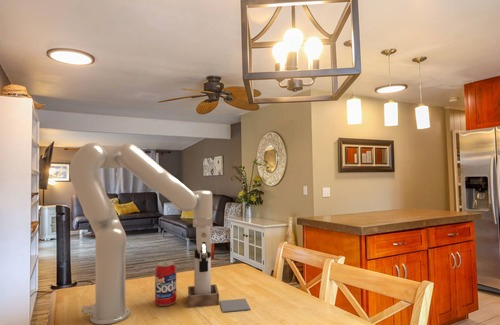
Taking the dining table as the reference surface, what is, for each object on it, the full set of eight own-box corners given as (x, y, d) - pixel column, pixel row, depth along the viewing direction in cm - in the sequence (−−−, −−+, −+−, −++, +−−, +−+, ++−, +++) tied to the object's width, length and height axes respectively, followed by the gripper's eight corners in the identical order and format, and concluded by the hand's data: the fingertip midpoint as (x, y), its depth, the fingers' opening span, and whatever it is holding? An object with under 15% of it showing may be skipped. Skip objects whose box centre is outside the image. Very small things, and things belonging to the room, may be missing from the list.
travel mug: (210, 303, 123) (210, 250, 124) (193, 303, 123) (192, 250, 124) (212, 297, 129) (212, 246, 130) (196, 297, 130) (195, 246, 130)
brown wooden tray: (188, 307, 120) (188, 296, 120) (188, 296, 131) (188, 286, 131) (219, 304, 122) (219, 293, 122) (216, 294, 133) (216, 284, 133)
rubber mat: (222, 312, 115) (222, 311, 115) (219, 302, 125) (219, 300, 125) (250, 310, 117) (250, 308, 117) (245, 299, 127) (245, 298, 127)
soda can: (172, 297, 129) (172, 259, 130) (179, 304, 123) (179, 263, 124) (152, 302, 125) (152, 262, 126) (158, 309, 119) (158, 267, 119)
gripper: (214, 225, 120) (214, 275, 119) (210, 219, 137) (210, 262, 136) (193, 226, 118) (193, 276, 118) (192, 219, 135) (192, 263, 135)
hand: (203, 268), depth 127 cm, fingers closed on travel mug, 6 cm apart
